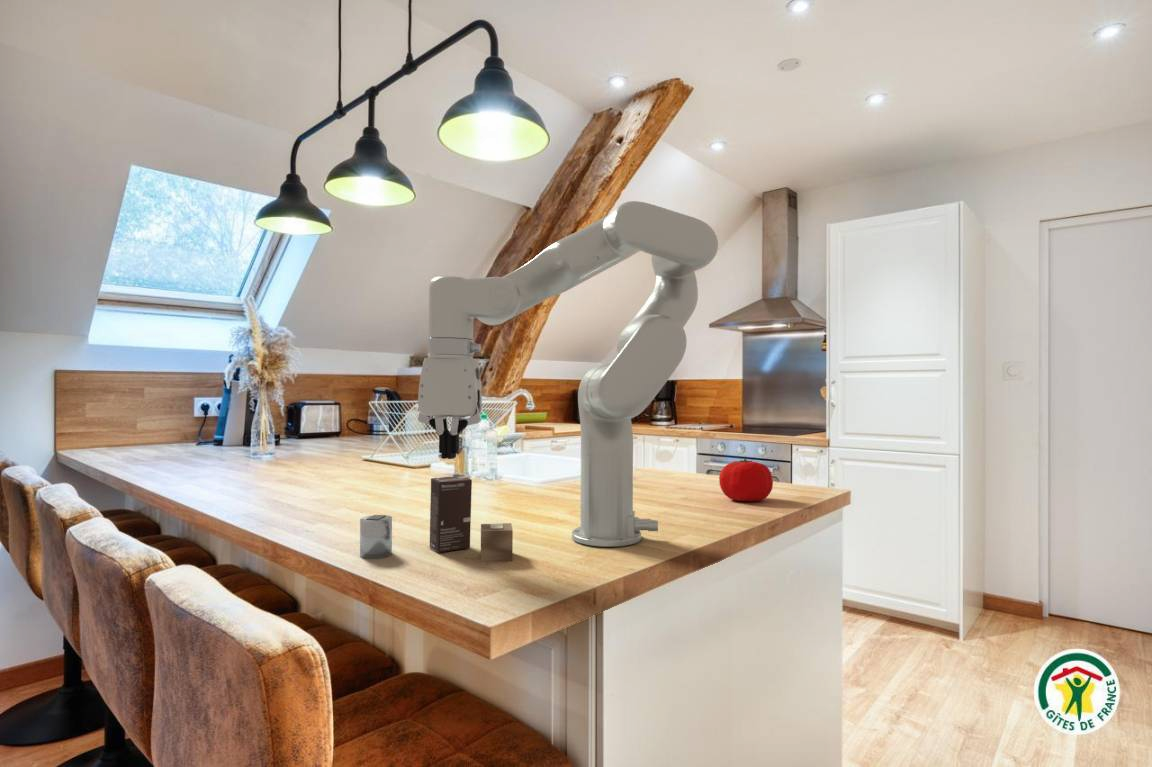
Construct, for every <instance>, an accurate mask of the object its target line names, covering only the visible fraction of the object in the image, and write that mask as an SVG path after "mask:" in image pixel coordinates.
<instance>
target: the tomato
mask: <svg viewBox="0 0 1152 767" xmlns="http://www.w3.org/2000/svg"><path fill="white" fill-rule="evenodd" d="M756 460H758V459H757V458H756V459H753V460H747V459H746V458H745V459H743V460H735V461H733V460H732V461H731V462H729V463H728V464H726V465H725V466H723V468H722V469H721V470H720V473H719V476H718V479H719V487H720V489H721V491H722V492H723V494H724V496H726V497H727V498H728V499H729V500H734V501H738V502H761V501H764V500H765V499H767V498H768V496H769V495H770V494H771V492H772V490H773V487H774V486H773V485H774V481H773V477H772V476H773V475H772V471H771V470H770V468H769V467H768V466H767V465H765V464H763V463H760V462H758V461H756Z"/></svg>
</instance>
